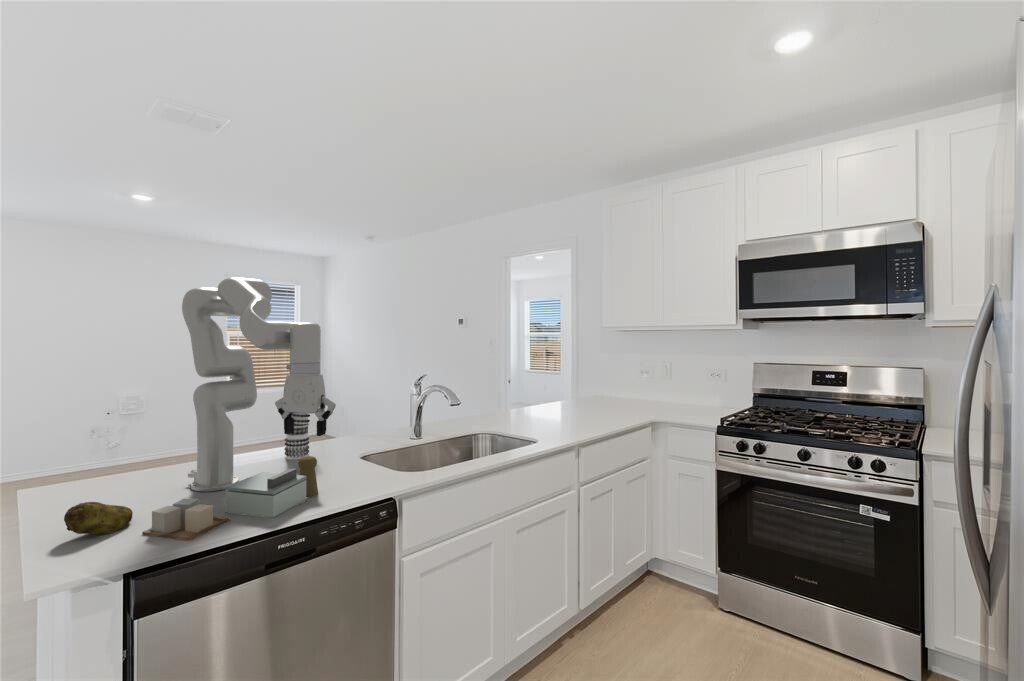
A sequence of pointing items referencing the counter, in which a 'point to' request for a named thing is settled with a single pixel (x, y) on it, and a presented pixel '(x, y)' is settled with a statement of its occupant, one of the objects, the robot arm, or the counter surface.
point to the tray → (186, 534)
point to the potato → (97, 518)
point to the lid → (267, 482)
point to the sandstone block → (198, 518)
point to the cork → (309, 474)
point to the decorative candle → (298, 438)
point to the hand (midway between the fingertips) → (305, 434)
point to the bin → (265, 501)
